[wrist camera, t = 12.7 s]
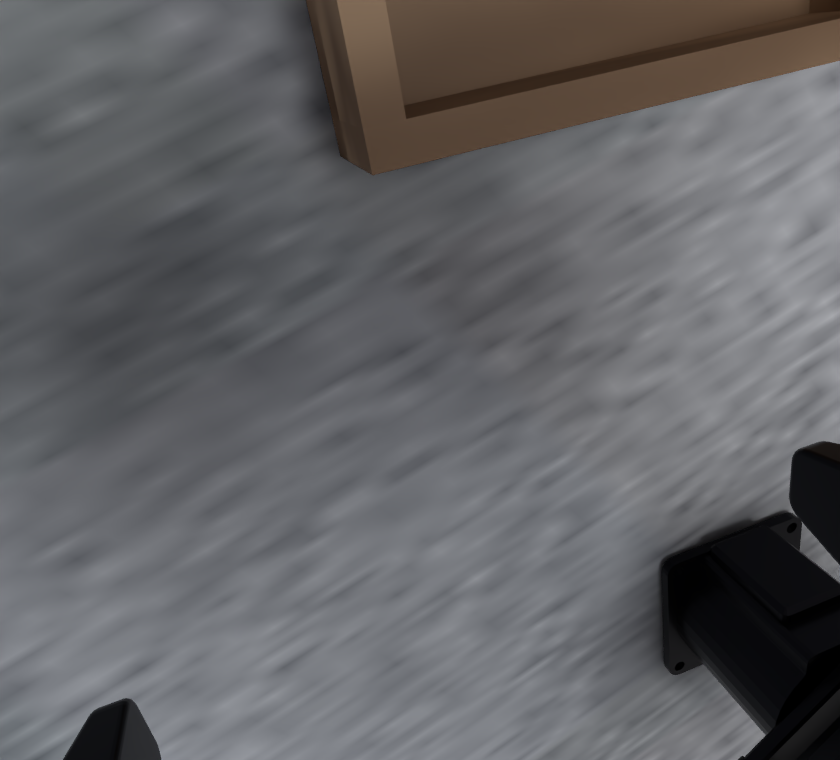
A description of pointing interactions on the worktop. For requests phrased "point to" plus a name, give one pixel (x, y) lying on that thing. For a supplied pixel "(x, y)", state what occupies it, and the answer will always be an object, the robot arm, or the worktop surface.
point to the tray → (540, 64)
